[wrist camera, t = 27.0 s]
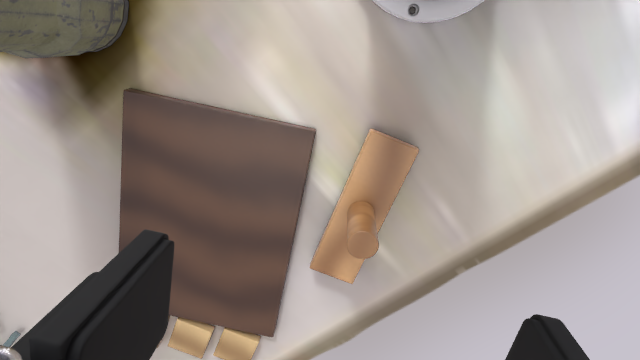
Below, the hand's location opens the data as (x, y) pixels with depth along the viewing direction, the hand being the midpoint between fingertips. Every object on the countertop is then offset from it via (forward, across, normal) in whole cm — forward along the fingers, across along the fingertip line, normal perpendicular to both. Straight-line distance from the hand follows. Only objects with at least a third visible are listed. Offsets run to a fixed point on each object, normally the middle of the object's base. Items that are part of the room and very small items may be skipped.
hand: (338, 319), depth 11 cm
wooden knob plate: (+26, -3, +8) cm, 28 cm away
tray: (+26, +11, +13) cm, 31 cm away
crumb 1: (+26, +11, +27) cm, 40 cm away
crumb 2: (+26, +6, +27) cm, 38 cm away
